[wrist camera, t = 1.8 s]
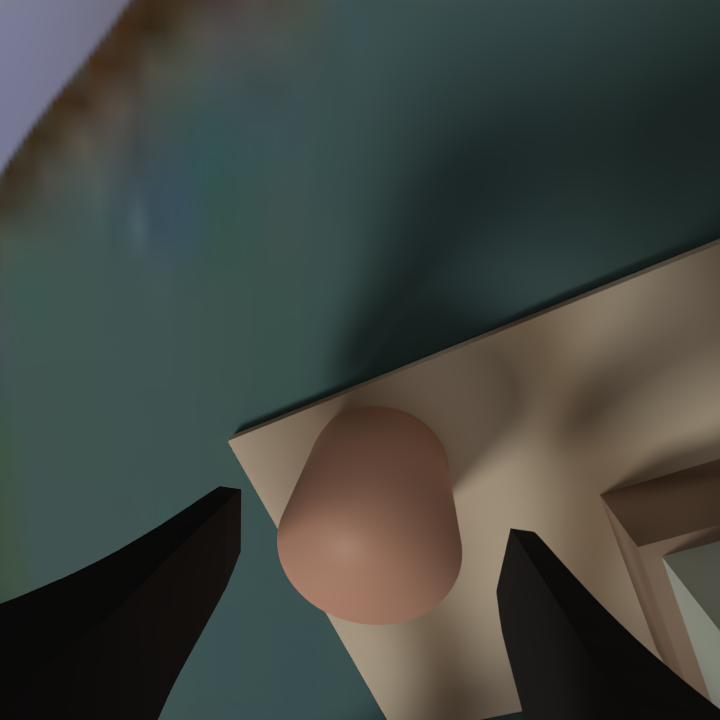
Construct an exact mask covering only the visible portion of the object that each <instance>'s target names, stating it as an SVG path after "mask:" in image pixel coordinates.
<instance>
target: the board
mask: <svg viewBox="0 0 720 720" xmlns="http://www.w3.org/2000/svg"><path fill="white" fill-rule="evenodd" d="M369 406H382V407H390V408H395V409H398V410H401V411H404V412H407V413H409V414H411V415H413V416H415V417H416V418H418V419H419V420H421V421H422V422H423V423H425V424H426V425H427V426H428V427H429V428H430V429H431V430H432V431H433V432H434V433H435V434H436V436H437V437H438V439H439V440H440V442H441V444H442V446H443V448H444V450H445V453H446V456H447V461H448V466H449V472H450V478H451V484H452V490H453V496H454V502H455V507H456V513H457V519H458V525H459V531H460V537H461V543H462V563H461V568H460V572H459V576H458V578H457V580H456V582H455V584H454V586H453V588H452V589H451V591H450V592H449V594H448V595H447V596H446V597H445V598H444V599H443V600H442V601H441V602H440V603H439V604H438V605H436V606H435V607H434V608H433V609H431V610H429V611H428V612H426V613H425V614H423V615H420V616H418V617H416V618H414V619H411V620H408V621H405V622H400V623H395V624H387V625H368V624H359V623H355V622H350V621H346V620H343V619H340V618H337V617H335V616H333V615H331V614H328V613H326V614H327V616H328V617H329V619H330V621H331V623H332V624H333V626H334V628H335V630H336V631H337V633H338V635H339V637H340V638H341V640H342V642H343V643H344V645H345V647H346V649H347V650H348V652H349V654H350V656H351V657H352V659H353V661H354V663H355V664H356V666H357V668H358V670H359V671H360V673H361V675H362V677H363V678H364V680H365V682H366V684H367V685H368V687H369V689H370V691H371V692H372V694H373V696H374V698H375V699H376V701H377V703H378V705H379V706H380V708H381V710H382V712H383V713H384V715H385V717H386V719H387V720H482V719H487V718H491V717H496V716H501V715H506V714H511V713H516V712H520V711H522V708H521V704H520V700H519V697H518V693H517V689H516V685H515V681H514V678H513V674H512V670H511V666H510V662H509V659H508V655H507V651H506V647H505V643H504V639H503V635H502V630H501V623H500V617H499V610H498V602H497V594H496V589H497V585H498V581H499V576H500V572H501V568H502V563H503V559H504V555H505V550H506V546H507V541H508V537H509V533H510V528H512V529H519V530H526V531H533V532H535V533H536V534H537V535H538V536H539V537H540V538H541V539H542V540H543V541H544V542H545V543H546V545H547V546H548V547H549V548H550V549H551V550H552V551H553V552H554V554H555V555H556V556H557V557H558V558H559V559H560V560H561V561H562V563H563V564H564V565H565V566H566V567H567V568H568V569H569V570H570V571H571V573H572V574H573V575H574V576H575V577H576V578H577V579H578V580H579V581H580V582H581V584H582V585H583V586H584V587H585V588H586V589H587V590H588V591H589V592H590V593H591V594H592V595H593V596H594V597H595V598H596V599H597V600H598V602H599V603H600V604H601V605H602V606H603V607H604V608H605V609H606V610H607V611H608V612H609V613H610V614H611V615H612V616H613V617H614V618H615V619H616V620H617V621H618V622H619V623H620V624H622V625H623V626H624V627H625V628H626V629H627V630H628V631H629V632H630V633H631V634H632V635H633V636H634V637H635V638H636V639H637V640H638V641H639V642H640V643H641V644H643V645H644V646H645V647H646V648H647V649H648V650H649V651H650V652H651V653H653V654H654V655H655V656H656V657H657V658H658V659H660V660H661V661H662V662H663V660H662V659H661V657H660V655H659V653H658V652H657V649H656V647H655V644H654V641H653V639H652V636H651V633H650V630H649V628H648V625H647V622H646V619H645V617H644V614H643V611H642V609H641V606H640V603H639V600H638V598H637V595H636V592H635V589H634V587H633V584H632V581H631V579H630V576H629V573H628V570H627V568H626V565H625V562H624V560H623V557H622V554H621V551H620V549H619V546H618V543H617V540H616V538H615V535H614V532H613V530H612V527H611V524H610V521H609V519H608V516H607V513H606V511H605V508H604V505H603V502H602V500H601V497H600V495H602V494H605V493H608V492H612V491H615V490H618V489H621V488H625V487H628V486H631V485H635V484H638V483H641V482H645V481H648V480H651V479H654V478H658V477H661V476H664V475H668V474H671V473H674V472H678V471H681V470H684V469H687V468H691V467H694V466H697V465H701V464H704V463H707V462H711V461H714V460H717V459H720V239H717V240H715V241H712V242H710V243H707V244H705V245H702V246H700V247H697V248H695V249H692V250H690V251H688V252H685V253H683V254H680V255H678V256H675V257H673V258H670V259H668V260H665V261H663V262H660V263H658V264H655V265H653V266H650V267H648V268H645V269H643V270H640V271H638V272H635V273H633V274H630V275H628V276H626V277H623V278H621V279H618V280H616V281H613V282H611V283H608V284H606V285H603V286H601V287H598V288H596V289H593V290H591V291H588V292H586V293H583V294H581V295H578V296H576V297H573V298H571V299H569V300H566V301H564V302H561V303H559V304H556V305H554V306H551V307H549V308H546V309H544V310H541V311H539V312H536V313H534V314H531V315H529V316H526V317H524V318H521V319H519V320H516V321H514V322H511V323H509V324H507V325H504V326H502V327H499V328H497V329H494V330H492V331H489V332H487V333H484V334H482V335H479V336H477V337H474V338H472V339H469V340H467V341H464V342H462V343H459V344H457V345H454V346H452V347H450V348H447V349H445V350H442V351H440V352H437V353H435V354H432V355H430V356H427V357H425V358H422V359H420V360H417V361H415V362H412V363H410V364H407V365H405V366H402V367H400V368H397V369H395V370H393V371H390V372H388V373H385V374H383V375H380V376H378V377H375V378H373V379H370V380H368V381H365V382H363V383H360V384H358V385H355V386H353V387H350V388H348V389H345V390H343V391H340V392H338V393H335V394H333V395H331V396H328V397H326V398H323V399H321V400H318V401H316V402H313V403H311V404H308V405H306V406H303V407H301V408H298V409H296V410H293V411H291V412H288V413H286V414H283V415H281V416H278V417H276V418H274V419H271V420H269V421H266V422H264V423H261V424H259V425H256V426H254V427H251V428H249V429H246V430H244V431H241V432H239V433H236V434H234V435H232V437H231V438H230V439H229V440H228V443H229V444H230V446H231V448H232V450H233V451H234V453H235V455H236V457H237V458H238V460H239V462H240V464H241V465H242V467H243V469H244V471H245V472H246V474H247V476H248V478H249V479H250V481H251V483H252V485H253V486H254V488H255V490H256V492H257V493H258V495H259V497H260V499H261V500H262V502H263V504H264V506H265V507H266V509H267V511H268V512H269V514H270V516H271V518H272V519H273V521H274V523H275V525H276V526H277V528H278V527H279V523H280V520H281V517H282V515H283V513H284V510H285V508H286V506H287V504H288V501H289V499H290V497H291V495H292V492H293V490H294V488H295V486H296V484H297V481H298V479H299V477H300V475H301V472H302V470H303V468H304V466H305V464H306V461H307V459H308V457H309V455H310V452H311V450H312V448H313V446H314V444H315V441H316V439H317V437H318V436H319V434H320V433H321V431H322V430H323V429H324V428H325V427H326V426H327V425H328V424H329V423H330V422H331V421H332V420H334V419H335V418H337V417H338V416H340V415H342V414H344V413H346V412H348V411H351V410H354V409H357V408H362V407H369ZM663 663H664V662H663Z"/></svg>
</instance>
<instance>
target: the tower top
mask: <svg viewBox="0 0 720 720" xmlns="http://www.w3.org/2000/svg"><path fill="white" fill-rule="evenodd" d="M662 559H663V562H664V565H665V568H666V571H667V574H668V576H669V579H670V582H671V585H672V588H673V591H674V594H675V597H676V600H677V603H678V606H679V609H680V612H681V614H682V617H683V620H684V623H685V626H686V629H687V632H688V635H689V638H690V641H691V644H692V647H693V649H694V652H695V655H696V658H697V661H698V664H699V667H700V670H701V673H702V676H703V679H704V682H705V684H706V687H707V690H708V693H709V696H710V699H711V702H712V703H713V704H714V705H715V706H717V707H718V708H719V709H720V541H718V542H714V543H711V544H707V545H703V546H699V547H695V548H692V549H688V550H684V551H680V552H677V553H673V554H669V555H665V556H662Z"/></svg>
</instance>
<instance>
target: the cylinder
mask: <svg viewBox="0 0 720 720" xmlns="http://www.w3.org/2000/svg"><path fill="white" fill-rule="evenodd" d="M277 548H278V553H279V558H280V561H281V564H282V567H283V569H284V571H285V573H286V575H287V577H288V578H289V580H290V581H291V583H292V584H293V586H294V587H295V588H296V589H297V590H298V591H299V593H300V594H301V595H302V596H304V597H305V598H306V599H307V600H308V601H309V602H311V603H312V604H313V605H315V606H316V607H318V608H319V609H321V610H323V611H324V612H326V613H328V614H331V615H333V616H335V617H337V618H340V619H343V620H346V621H350V622H355V623H359V624H368V625H387V624H395V623H400V622H405V621H408V620H411V619H414V618H416V617H418V616H420V615H423V614H425V613H426V612H428V611H429V610H431V609H433V608H434V607H435V606H436V605H438V604H439V603H440V602H441V601H442V600H443V599H444V598H445V597H446V596H447V595H448V594H449V592H450V591H451V589H452V588H453V586H454V584H455V582H456V580H457V578H458V576H459V572H460V568H461V563H462V543H461V537H460V531H459V525H458V519H457V513H456V507H455V502H454V496H453V490H452V484H451V478H450V472H449V466H448V461H447V456H446V453H445V450H444V448H443V446H442V444H441V442H440V440H439V439H438V437H437V436H436V434H435V433H434V432H433V431H432V430H431V429H430V428H429V427H428V426H427V425H426V424H425V423H423V422H422V421H421V420H419V419H418V418H416V417H415V416H413V415H411V414H409V413H407V412H404V411H401V410H398V409H395V408H390V407H382V406H369V407H362V408H357V409H354V410H351V411H348V412H346V413H344V414H342V415H340V416H338V417H337V418H335V419H334V420H332V421H331V422H330V423H329V424H328V425H327V426H326V427H325V428H324V429H323V430H322V431H321V433H320V434H319V436H318V437H317V439H316V441H315V444H314V446H313V448H312V450H311V452H310V455H309V457H308V459H307V461H306V464H305V466H304V468H303V470H302V472H301V475H300V477H299V479H298V481H297V484H296V486H295V488H294V490H293V492H292V495H291V497H290V499H289V501H288V504H287V506H286V508H285V510H284V513H283V515H282V517H281V520H280V523H279V527H278V534H277Z"/></svg>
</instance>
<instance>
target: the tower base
mask: <svg viewBox="0 0 720 720" xmlns="http://www.w3.org/2000/svg"><path fill="white" fill-rule="evenodd" d="M600 497H601V500H602V502H603V505H604V508H605V511H606V513H607V516H608V519H609V521H610V524H611V527H612V530H613V532H614V535H615V538H616V540H617V543H618V546H619V549H620V551H621V554H622V557H623V560H624V562H625V565H626V568H627V570H628V573H629V576H630V579H631V581H632V584H633V587H634V589H635V592H636V595H637V598H638V600H639V603H640V606H641V609H642V611H643V614H644V617H645V619H646V622H647V625H648V628H649V630H650V633H651V636H652V639H653V641H654V644H655V647H656V649H657V652H658V653H659V655H660V657H661V659H662V660H663V662H664V664H665V665H666V666H668V667H669V668H670V669H671V670H672V671H673V672H674V673H676V674H677V675H678V676H679V677H680V678H682V679H683V680H684V681H685V682H686V683H688V684H689V685H690V686H691V687H693V688H694V689H695V690H696V691H697V692H699V693H700V694H701V695H703V696H704V697H705V698H706V699H708V700H709V701H710V702H711V699H710V696H709V693H708V690H707V687H706V684H705V682H704V679H703V676H702V673H701V670H700V667H699V664H698V661H697V658H696V655H695V652H694V649H693V647H692V644H691V641H690V638H689V635H688V632H687V629H686V626H685V623H684V620H683V617H682V614H681V612H680V609H679V606H678V603H677V600H676V597H675V594H674V591H673V588H672V585H671V582H670V579H669V576H668V574H667V571H666V568H665V565H664V562H663V559H662V556H665V555H669V554H673V553H677V552H680V551H684V550H688V549H692V548H695V547H699V546H703V545H707V544H711V543H714V542H718V541H720V459H717V460H714V461H711V462H707V463H704V464H701V465H697V466H694V467H691V468H687V469H684V470H681V471H678V472H674V473H671V474H668V475H664V476H661V477H658V478H654V479H651V480H648V481H645V482H641V483H638V484H635V485H631V486H628V487H625V488H621V489H618V490H615V491H612V492H608V493H605V494H602V495H600Z"/></svg>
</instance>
